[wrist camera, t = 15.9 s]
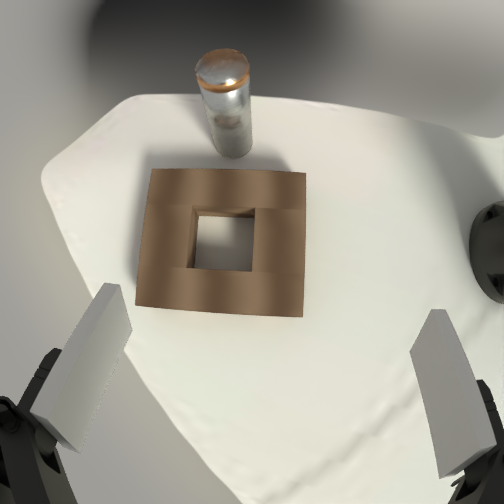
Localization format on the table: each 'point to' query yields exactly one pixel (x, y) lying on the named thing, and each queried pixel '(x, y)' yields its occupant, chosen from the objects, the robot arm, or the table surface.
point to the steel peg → (227, 100)
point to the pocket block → (224, 205)
